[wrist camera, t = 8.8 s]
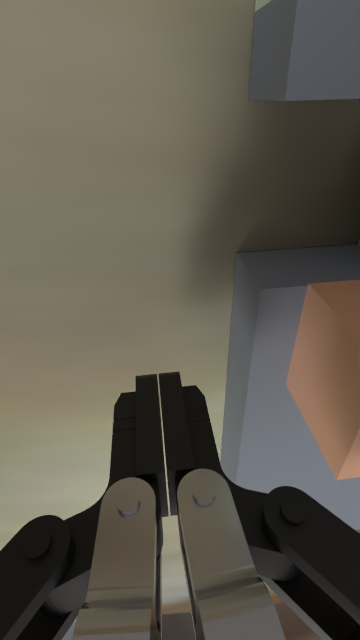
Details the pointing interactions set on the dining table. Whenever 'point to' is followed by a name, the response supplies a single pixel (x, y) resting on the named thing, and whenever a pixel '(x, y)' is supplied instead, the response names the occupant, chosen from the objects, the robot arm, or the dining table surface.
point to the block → (330, 372)
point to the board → (287, 269)
